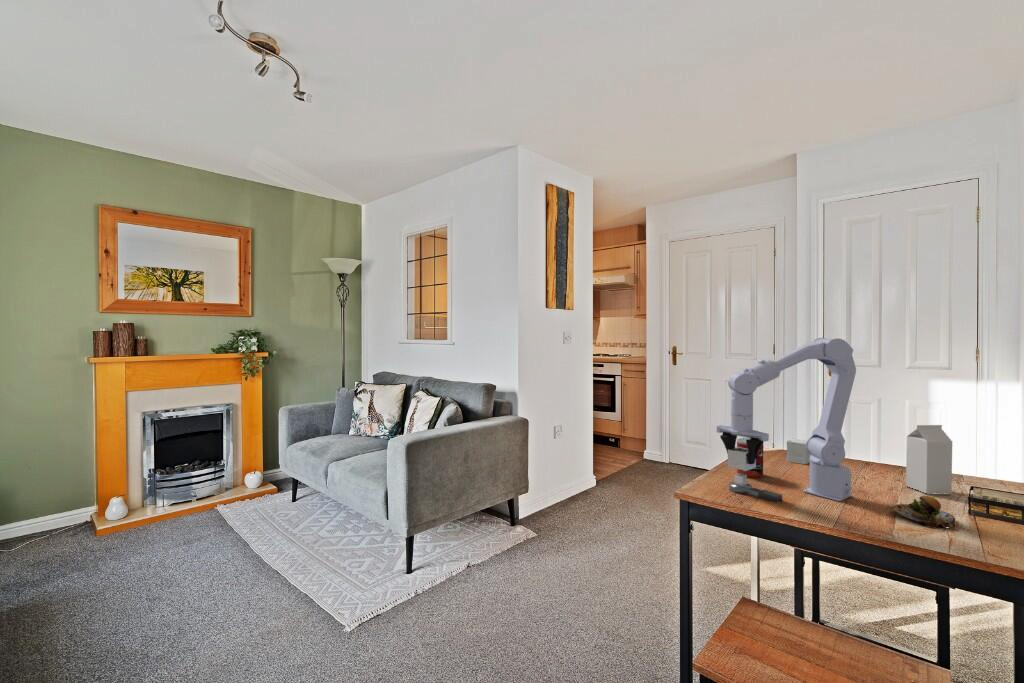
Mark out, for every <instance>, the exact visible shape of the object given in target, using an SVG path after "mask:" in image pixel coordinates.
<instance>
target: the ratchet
mask: <svg viewBox="0 0 1024 683" xmlns="http://www.w3.org/2000/svg"><path fill="white" fill-rule="evenodd" d="M733 476H734V480H733V481H730V482H729V483H728V486H729V487H728V490H729V491H730V492H732V493H735V494H739V495H749V496H753V497H756V498H759V499H762V500H765V501H769V502H773V503H776V504H777V503H780V502H782V501H783V494H782V493H781V494H780V493H777V492H773V491H770V490H768V489H759V488H757V487H753V485H752V484H749V483H748V477H747V475H745V474H741V473H737V472H736V473H734V474H733Z"/></svg>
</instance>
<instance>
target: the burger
mask: <svg viewBox="0 0 1024 683" xmlns="http://www.w3.org/2000/svg"><path fill="white" fill-rule="evenodd" d="M937 492H938V491H937ZM936 495H937V494H934V496H931V495H921V496H919V501H918V500H917V499H913V502H911V503H909V504H908V503H907V504H903V503H900V504H899V503H898V504H895V505H893V506H892V509H893V510H894V511H895V512H896V513H898V515H900V516H902V517H904V518H907V519H909V520H911V521H915V522H919V523H924V524H925V527H927V526H929V527H928V528H930V527H937V528H938V526H939V525H941V526H942V527H943V528H944V529H947V528H946V527H955V524H956V517H954V515H952V514H950V513H949V512H946V511H942V510H941V508H942V506H941V502H939V500H938V499H936V498H935V497H936Z"/></svg>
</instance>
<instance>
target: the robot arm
mask: <svg viewBox="0 0 1024 683" xmlns="http://www.w3.org/2000/svg"><path fill="white" fill-rule="evenodd" d="M853 353H854V349H853V347H852V346H851V345H850V344H849V343H848V342H847V341H846V340H845V339H842V338H824V337H818V338H816V339H814V340H813V341H812V340H811V341H809V342H808V341H807V342H806V343H804V344H802V345H801V346H799V347H797V348H796V349H795V348H794V350H791V351H790V352H788V353H786V354H784V355H783V356H781V357H779V358H777V359H775V360H771V359H766V360H765V359H760V360H758V361H757V362H758V364H755V365H752V367H749V368H747V367H746V368H744V369H743V372H737V373H733V374H732V375H731V377H730V378H729V381H728V382H727V384H728V387H729V389H731V398H730V399H731V400H730V426H728V425H717V426H716V433H717V434H718V433H719V434H720V433H722V434H721V435H720V439H721V441H722V443H723V445H724V448H725V449H726V454H727V455H728V449H731V448H735V447H736V445H737V439H738V437H741V438H751V439H749V440H746V443H747V447H748V463H749V464H754V463H755V459H756V456H757V453H758V451H759V449H760V447H761V445H762V444H763V445H764V442H768V441H769V440H770V439H769V436H770V434H769V433H767V432H763V431H759V430H755V429H754V393H755V392H756V390H757V388H759V387H761V386H763V385H765V384H768V383H770V382H772V381H774V380H775V379H777V378H779V377H780V374H781V372H782V371H785V370H786V369H789V368H791V367H793V366H796V365H797V364H801V363H802V362H805V361H807V360H817V361H819V362H821V363H822V364H824V365H825V367H826V368H827V369H828V370H829V371H830V373H831V374H830V379H829V383H828V387H827V392H826V395H825V399H824V403H823V408H822V410H821V415H820V418H819V424H818V425H817V426H816V427H815V428H814V429H813V430H812V432H811V435H810V437H809V438H807V440H806V441H807V442H806V450H807V452H808V453H809V454H810V462H809V483H808V484H809V487H807V488H805V489H802V491H803V493H807V494H811V495H814V496H818V497H822V498H825V499H831V500H832V501H833V500H834V501H837V502H842V501H844V500H846V499H847V498H850V497H852V496H853V494H852V471H851V468H849V466H848V467H847V466H844V465H842V464H841V463H842V462H843V461H844V460H845V458H846V450H845V443H846V441H845V438H844V436H843V433H842V428H843V424H844V420H845V417H846V414H847V410H848V405H849V402H850V397H851V394H852V389H853V386H854V382H855V377H856V374H857V367H856V364H855V360H854V357H853Z"/></svg>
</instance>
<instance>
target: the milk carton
mask: <svg viewBox="0 0 1024 683" xmlns="http://www.w3.org/2000/svg"><path fill="white" fill-rule="evenodd" d="M942 427H943V425H942V424H917V425H916V428H915V430H913V431H912V432H911V433H909V434H907V435H906V450H905V451H906V456H905V457H906V460H905V462H906V464H905V465H906V466H905V473H906V474H905V487H907V486H908V487H907V488H909V487H910V489H912V488H913V490H915V489H916V490H915V491H917V490H919V491H918V492H920V491H921V492H920V493H922V492H924V493H923V494H925V493H927V494H926V495H934V494H933V493H951V494H952V483H953V482H952V481H953V480H952V478H953V477H952V474H953V440H951V438H950V436H949V435H948V434H947V433H946V432H945V431H944V430H943V428H942ZM937 491H938V492H937Z"/></svg>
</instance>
